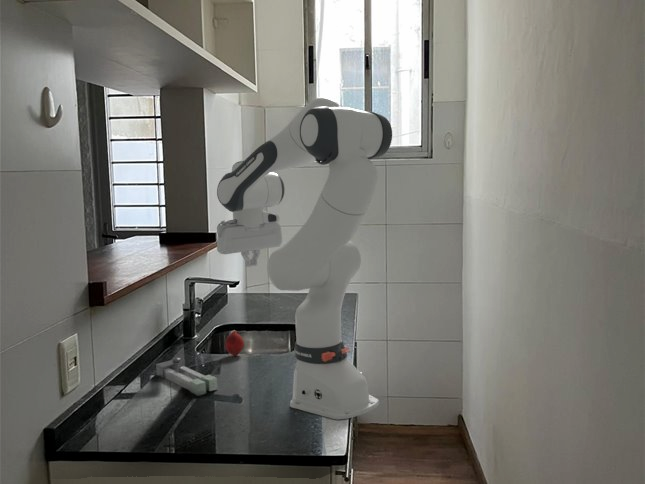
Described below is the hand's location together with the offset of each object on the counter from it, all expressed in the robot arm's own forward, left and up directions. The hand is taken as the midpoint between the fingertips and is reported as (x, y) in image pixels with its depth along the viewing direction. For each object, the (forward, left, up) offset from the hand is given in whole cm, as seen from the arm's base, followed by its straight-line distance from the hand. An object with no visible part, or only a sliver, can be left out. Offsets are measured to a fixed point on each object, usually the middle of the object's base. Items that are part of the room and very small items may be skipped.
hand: (251, 266), depth 185 cm
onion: (+12, 0, -29) cm, 32 cm away
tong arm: (+1, +21, -29) cm, 35 cm away
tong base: (+2, +22, -29) cm, 37 cm away
